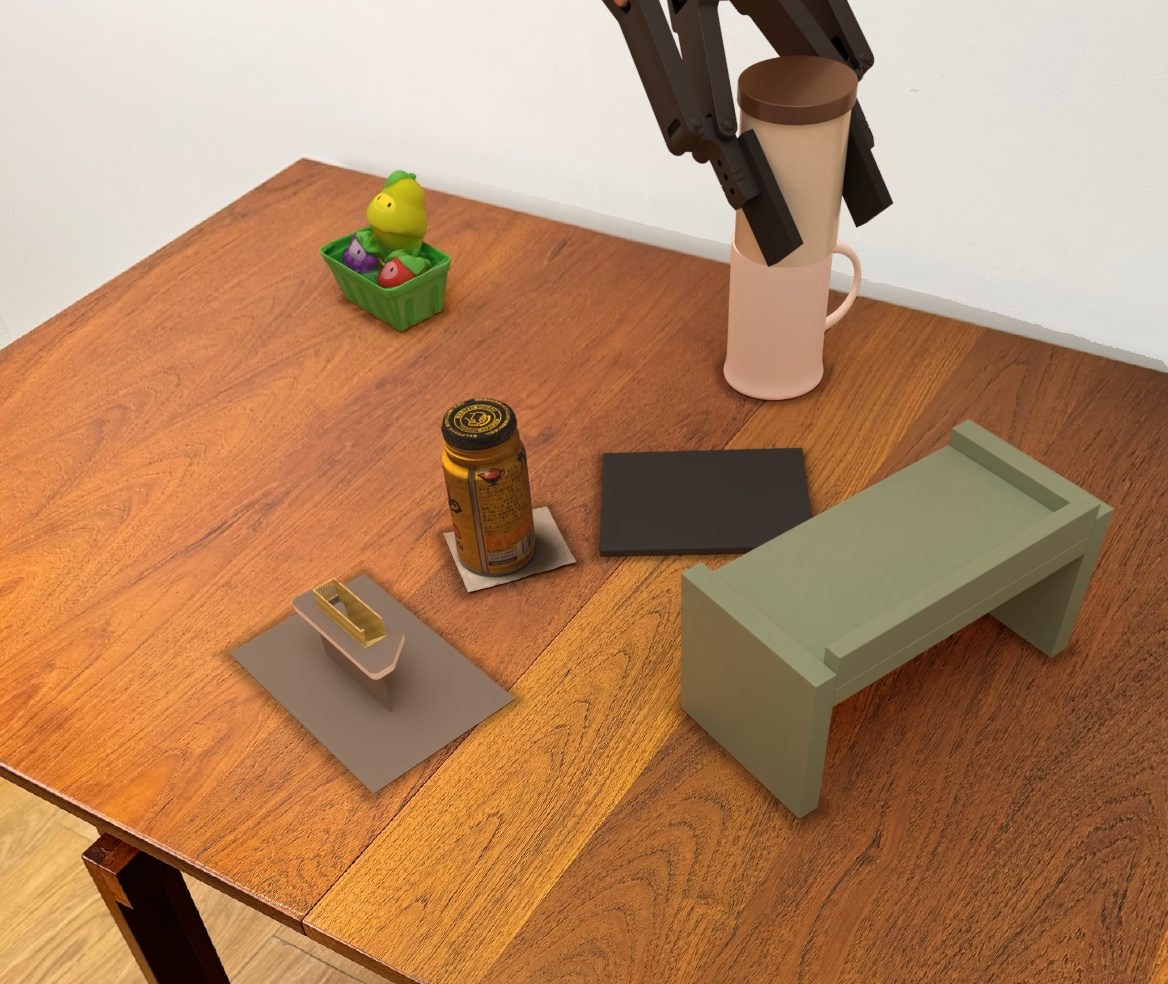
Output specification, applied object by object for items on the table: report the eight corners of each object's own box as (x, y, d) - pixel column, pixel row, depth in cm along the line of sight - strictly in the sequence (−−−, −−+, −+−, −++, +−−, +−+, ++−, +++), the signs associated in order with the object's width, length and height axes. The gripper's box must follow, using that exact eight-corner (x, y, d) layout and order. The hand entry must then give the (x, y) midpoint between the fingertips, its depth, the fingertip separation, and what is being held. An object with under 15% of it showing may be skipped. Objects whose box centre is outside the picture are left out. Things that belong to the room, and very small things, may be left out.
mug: (835, 329, 112) (850, 196, 103) (874, 381, 107) (893, 246, 98) (710, 355, 111) (713, 223, 101) (743, 409, 105) (750, 274, 96)
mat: (801, 453, 101) (802, 447, 101) (814, 551, 94) (814, 545, 93) (603, 458, 102) (603, 452, 102) (600, 556, 95) (599, 550, 94)
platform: (364, 573, 95) (346, 504, 90) (515, 698, 86) (505, 629, 81) (228, 653, 90) (201, 584, 85) (373, 794, 81) (353, 726, 76)
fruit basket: (326, 299, 120) (298, 181, 111) (399, 263, 124) (378, 146, 115) (398, 344, 115) (375, 223, 106) (472, 305, 118) (456, 185, 109)
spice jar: (834, 212, 76) (851, 52, 69) (846, 267, 72) (865, 103, 65) (728, 216, 76) (734, 57, 69) (733, 271, 72) (740, 108, 65)
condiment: (443, 535, 97) (419, 401, 88) (547, 508, 99) (533, 373, 89) (468, 594, 93) (445, 460, 83) (576, 565, 94) (566, 430, 85)
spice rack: (939, 557, 92) (972, 402, 82) (1066, 648, 86) (1120, 491, 76) (679, 707, 85) (680, 556, 74) (799, 819, 78) (817, 671, 68)
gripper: (752, -168, 74) (912, 209, 77) (480, -88, 67) (669, 318, 71) (822, -269, 67) (994, 151, 70) (526, -190, 60) (733, 267, 64)
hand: (830, 234), depth 71 cm, fingers closed on spice jar, 6 cm apart
